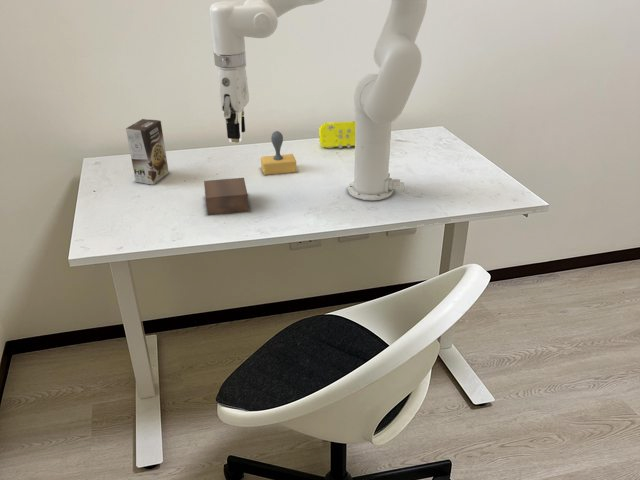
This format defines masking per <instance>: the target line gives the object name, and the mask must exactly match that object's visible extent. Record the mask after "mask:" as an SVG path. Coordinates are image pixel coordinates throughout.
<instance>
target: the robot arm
mask: <svg viewBox="0 0 640 480" xmlns="http://www.w3.org/2000/svg"><path fill="white" fill-rule="evenodd" d="M323 1H324V0H245V1H244V2H243V3H242V5H241V4H240V3H238V2H236V1H230V0H223V1H217V2H213V3H212V4H210V7H209V21H210V30H211V41H212V50H213V51H212V52H213V61H214V68H215V69H217V73H218V75H217V76H218V77H217V80H218V95H219V96H218V97H219V105H220V110H221V111H222V112H223V117H224V119H225V118H226V120H225V125H226V126H225V127H226V136H227V139H228V140H229V139H240V127H239V123H238V115H237V112H240V111H241V110H242V124H241V126H242V133H245V132H246V122H245V121H246V119H245V109H244V108H245V107H246V106H247V104H249V101H250V96H249V95H250V93H249V86H248V77H247V70H246V67H247V56H246V54H247V53H246V43H245V41H246V40H245V38H253V39H265V38H266V39H267V38H269V37H271V36H272V35H273V34H274V33H275V32H276V30H277V28H278V23H279V22H278V21H279V20H278V18H279V17H280V18H281V16H283V15H284V14H286V13H288V12H290V11H293V10H294V9H296V8H300V7H302V6H311V5H315V4H318V3H322V2H323ZM390 2H391V3H390V7H389V9H388V13H387V16H386V19H385V22H384V24H383V26H382V29H381V31H380V34H379V36H378V39H377V41H376V44H375V45H374V50H373V60H374V63H375V64H376V66H377V67H378V68H379V71H378V73H368V74H366V75H364V76H362V77H361V78H360V80H359V81H358V82H357V83H356V86H355V89H354V94H353V103H354V104H353V105H354V116H355V117H354V119H355V121H356V128H355V146H354V166H353V167H354V169H353V170H354V171H353V181H352V182H351V183H350V184H349V185H348V187H347V188H348V189H347V190H348V194H349V195H351V196H352V197H354V198H356V199H358V200H363V201H380V200H384V199H388V198H389V197H390V196H392V194H393V193H394V189H397V190H404V187H405V181H401V179H400V178H399V179H398V178H393V177H391V173H390V172H389V171H390V153H391V139H392V123H394V122H395V121H396V120H397V119H398V118H399V117H400V115H401V114H402V113H403V111H404V109H405V108H406V107H405V106H406V105H407V102H408V100H409V98H410V97H411V93H412V91H413V89H414V87H415V84H416V82H417V79H418V77H419V74H420V72H421V67H422V53H421V50H420V48H419V46H418V45H417V43H416V40H417V37H418V35H419V32H420V29H421V27H422V24H423V21H424V18H425V15H426V13H427V12H426V11H427V6H428V0H391V1H390ZM231 108H233V109H234V110H231ZM231 113H234V116H233V115H231Z"/></svg>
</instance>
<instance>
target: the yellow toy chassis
mask: <svg viewBox="0 0 640 480" xmlns="http://www.w3.org/2000/svg"><path fill="white" fill-rule="evenodd" d="M355 128H356V121H336V122H324V123H323V124H321V125H320V126H319V127H318V136H319V137H318V139H319V140H318V142H319V143H320V147H321V148H326V149H327V150H328V149H329V150H330V149H331V150H332V149H335V148H336V147H338V148H339V149H342V148H343V147H346V148H347V149H348V148H349V149H350V148H351V147H353V146H354V147H355Z"/></svg>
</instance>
